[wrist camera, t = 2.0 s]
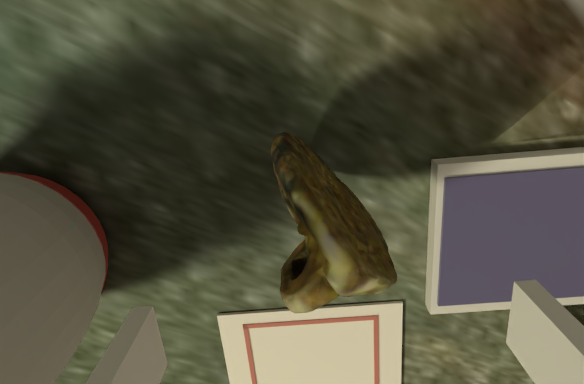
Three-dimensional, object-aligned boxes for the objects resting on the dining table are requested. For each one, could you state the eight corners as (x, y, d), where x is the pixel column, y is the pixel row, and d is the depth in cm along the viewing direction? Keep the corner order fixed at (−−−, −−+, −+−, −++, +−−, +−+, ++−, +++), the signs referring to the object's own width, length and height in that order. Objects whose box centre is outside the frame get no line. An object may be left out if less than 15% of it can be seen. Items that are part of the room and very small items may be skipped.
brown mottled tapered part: (376, 191, 30) (450, 323, 16) (334, 232, 31) (367, 388, 17) (284, 110, 28) (274, 181, 14) (243, 159, 29) (195, 268, 15)
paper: (217, 313, 34) (216, 316, 34) (401, 300, 33) (403, 303, 33) (241, 441, 40) (241, 445, 39) (399, 432, 39) (400, 436, 39)
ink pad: (431, 159, 29) (439, 166, 27) (624, 143, 28) (644, 149, 27) (424, 303, 34) (431, 316, 32) (591, 292, 33) (606, 305, 32)
